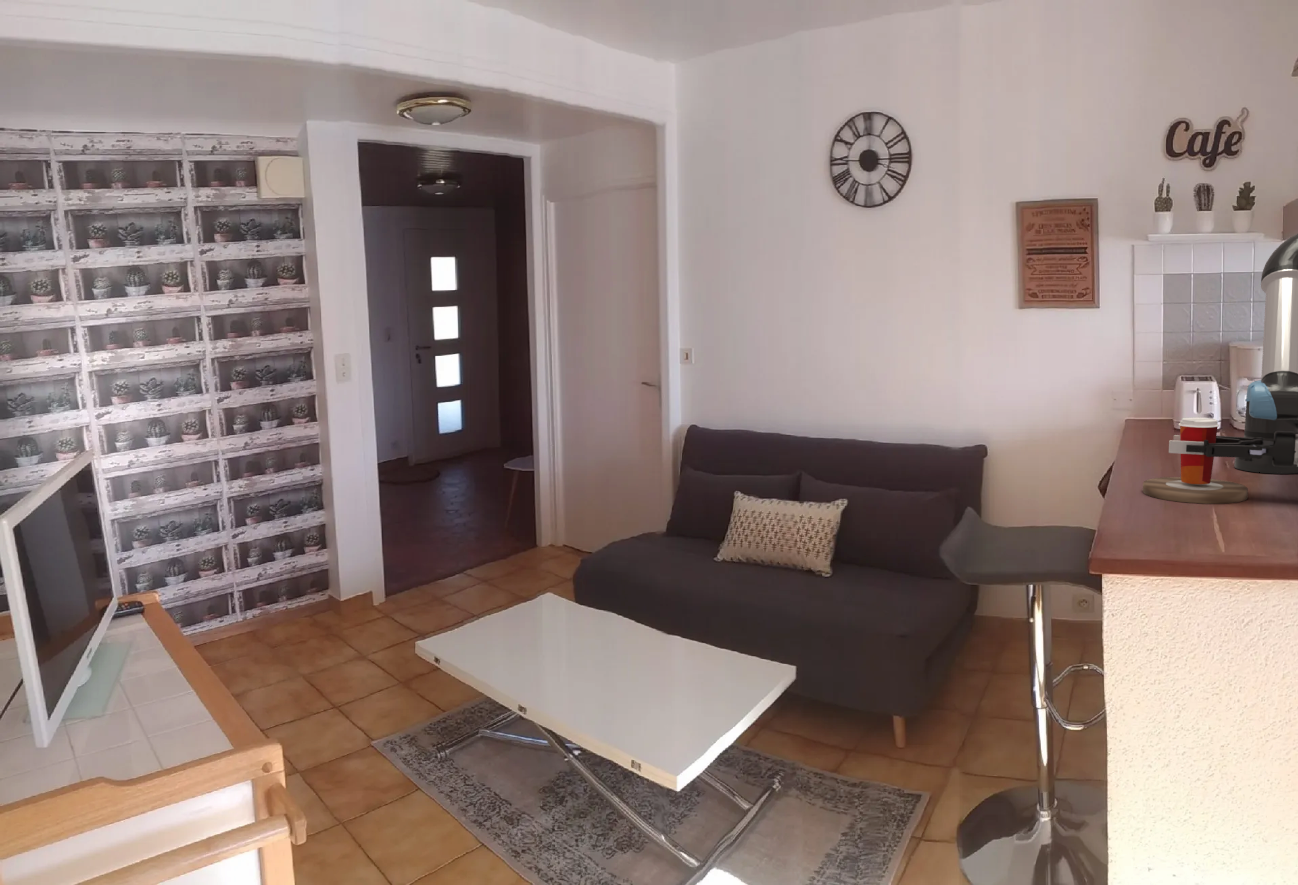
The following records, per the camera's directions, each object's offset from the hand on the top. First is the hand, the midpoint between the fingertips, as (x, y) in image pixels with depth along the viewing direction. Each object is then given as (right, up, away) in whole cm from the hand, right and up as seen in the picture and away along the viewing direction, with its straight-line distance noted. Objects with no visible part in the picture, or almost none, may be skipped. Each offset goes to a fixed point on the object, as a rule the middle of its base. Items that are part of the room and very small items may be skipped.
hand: (1171, 443), depth 204 cm
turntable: (+4, -11, -1) cm, 12 cm away
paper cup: (+4, -9, -2) cm, 10 cm away
